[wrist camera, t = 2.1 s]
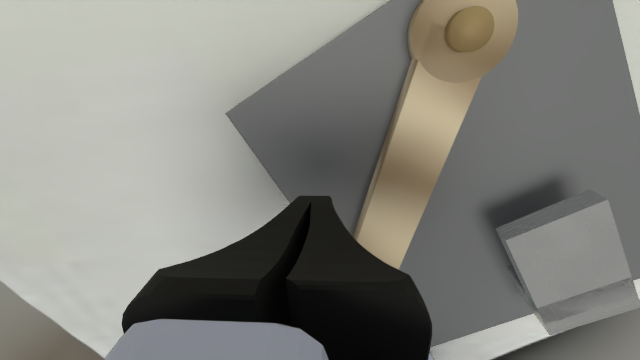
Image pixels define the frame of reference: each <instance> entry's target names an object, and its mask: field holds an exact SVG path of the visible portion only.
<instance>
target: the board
mask: <svg viewBox="0 0 640 360" xmlns="http://www.w3.org/2000/svg"><path fill="white" fill-rule="evenodd" d="M420 2H421V0H391V1H389V2H388V3H386V4H385V5H383V6H382V7H380V8H379V9H377V10H376V11H374V12H373V13H372V14H370V15H369V16H367V17H366V18H364V19H363V20H361V21H360V22H358V23H357V24H355V25H354V26H353V27H351V28H350V29H348V30H347V31H345V32H344V33H342V34H341V35H339V36H338V37H336V38H335V39H334V40H332V41H331V42H329V43H328V44H326V45H325V46H323V47H322V48H320V49H319V50H317V51H316V52H315V53H313V54H312V55H310V56H309V57H307V58H306V59H304V60H303V61H301V62H300V63H298V64H297V65H296V66H294V67H293V68H291V69H290V70H288V71H287V72H285V73H284V74H282V75H281V76H279V77H278V78H277V79H275V80H274V81H272V82H271V83H269V84H268V85H266V86H265V87H263V88H262V89H260V90H259V91H258V92H256V93H255V94H253V95H252V96H250V97H249V98H247V99H246V100H244V101H243V102H242V103H240V104H239V105H237V106H236V107H234V108H233V109H231V110H230V111H228V112H227V113H225V114H226V115H227V116H228V118H229V119H230V121H231V122H232V123H233V125H234V126H235V128H236V129H237V130H238V132H239V133H240V134H241V136H242V137H243V139H244V140H245V141H246V143H247V144H248V145H249V147H250V148H251V150H252V151H253V152H254V154H255V155H256V157H257V158H258V159H259V161H260V162H261V163H262V165H263V166H264V168H265V169H266V170H267V172H268V173H269V174H270V176H271V177H272V179H273V180H274V181H275V183H276V184H277V185H278V187H279V188H280V190H281V191H282V192H283V194H284V195H285V197H286V198H287V199H288V201H289V202H290V203H292V202H293V201H294V200H295V199H296V198H297V197H298V196H330V197H331V198H332V203H333V206H334V209H335V211H336V213H337V215H338V216H339V218H340V220H341V221H342V223H343V224H344V226H345V227H346V229H347V230H348V231H349V233H350V234H351V235H352V236H353V235H354V232H355V229H356V226H357V223H358V220H359V217H360V214H361V211H362V208H363V205H364V202H365V199H366V196H367V193H368V190H369V187H370V183H371V180H372V177H373V174H374V171H375V168H376V165H377V162H378V159H379V156H380V153H381V150H382V147H383V144H384V141H385V138H386V135H387V132H388V129H389V126H390V123H391V120H392V117H393V114H394V111H395V108H396V105H397V102H398V99H399V96H400V93H401V90H402V87H403V84H404V81H405V78H406V75H407V72H408V69H409V66H410V63H411V60H412V58H411V56H410V53H409V50H408V43H407V33H408V27H409V23H410V20H411V17H412V15H413V13H414V11H415V9H416V7H417V6H418V4H419V3H420ZM516 3H517V8H518V25H517V31H516V34H515V38H514V40H513V43H512V45H511V47H510V49H509V50H508V52H507V53H506V55H505V56H504V58H503V59H502V60H501V61H500V62H499V63H498V64H497V65H496V66H495V67H494V68H493V69H492V70H491V71H489V72H488V73H486V74H485V75H483V76H482V77H481V80H480V82H479V84H478V87H477V89H476V91H475V94H474V96H473V98H472V101H471V103H470V105H469V108H468V110H467V112H466V115H465V117H464V119H463V121H462V124H461V126H460V128H459V131H458V133H457V135H456V138H455V140H454V142H453V145H452V147H451V149H450V152H449V154H448V156H447V159H446V161H445V163H444V166H443V168H442V170H441V172H440V175H439V177H438V179H437V182H436V184H435V186H434V189H433V191H432V193H431V196H430V198H429V200H428V203H427V205H426V207H425V210H424V212H423V214H422V217H421V219H420V221H419V223H418V226H417V228H416V230H415V233H414V235H413V237H412V240H411V242H410V244H409V247H408V249H407V251H406V254H405V256H404V258H403V261H402V263H401V265H400V267H399V270H400V271H402V272H404V273H406V274H408V275H410V276H411V278H412V280H413V281H414V283H415V285H416V287H417V289H418V290H419V292H420V294H421V296H422V298H423V300H424V302H425V305H426V307H427V309H428V312H429V315H430V318H431V322H432V339H431V345H430V347H433V346H436V345H439V344H442V343H445V342H448V341H451V340H454V339H457V338H460V337H463V336H466V335H469V334H472V333H475V332H478V331H481V330H484V329H487V328H490V327H493V326H496V325H499V324H502V323H505V322H509V321H512V320H515V319H518V318H521V317H524V316H527V315H530V314H533V312H532V310H531V309H530V307H529V306H528V305H527V303H526V302H525V301H524V299H523V298H522V296H521V295H520V294H519V292H518V290H517V288H516V286H515V284H514V282H513V280H512V278H511V276H510V274H509V271H508V269H507V268H508V267H511V266H513V265H512V263H511V261H510V259H509V257H508V254H507V252H506V250H505V248H504V246H503V244H502V242H501V240H500V237H499V235H498V233H497V231H496V229H495V228H498V227H500V226H502V225H505V224H507V223H510V222H512V221H514V220H517V219H519V218H522V217H524V216H526V215H529V214H531V213H534V212H536V211H538V210H541V209H543V208H546V207H548V206H550V205H553V204H555V203H558V202H560V201H562V200H565V199H567V198H570V197H572V196H574V195H577V194H579V193H582V192H584V191H586V190H589V189H590V190H592V191H594V192H596V193H598V194H599V195H601V196H603V197H605V198H606V199H608V201H609V204H610V207H611V211H612V214H613V217H614V220H615V224H616V227H617V230H618V233H619V237H620V240H621V243H622V247H623V250H624V253H625V256H626V260H627V263H628V266H629V269H630V273H631V276H632V279H633V280H636V279H639V278H640V114H639V110H638V106H637V102H636V98H635V93H634V89H633V85H632V81H631V77H630V72H629V68H628V64H627V60H626V56H625V51H624V47H623V43H622V39H621V35H620V30H619V26H618V22H617V18H616V14H615V9H614V5H613V1H612V0H516Z"/></svg>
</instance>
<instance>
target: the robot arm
mask: <svg viewBox="0 0 640 360" xmlns="http://www.w3.org/2000/svg"><path fill="white" fill-rule="evenodd" d="M122 327H123V332H124V335H123V336H122V337H121V338H120V339H119V340H118V342H117V343H116V344H115V346H114V347H113V348H112V349H111V351H110V352H109V353H108V355H107V356H106V357H105V359H104V360H434V359H433V357H432V355H431V354H430V345H431V339H432V322H431V318H430V315H429V312H428V309H427V307H426V305H425V302H424V300H423V298H422V296H421V294H420V292H419V290H418V289H417V287H416V285H415V283H414V281H413V280H412V278H411V276H410V275H408V274H406V273H404V272H402V271H400V270H398V269H396V268H394V267H392V266H390V265H388V264H386V263H385V262H383V261H382V260H380V259H378V258H377V257H375V256H374V255H373V254H371V253H370V252H369V251H367V250H366V249H365V248H364V247H363V246H361V245H360V244H359V243H358V242H357V241H356V239H355V238H354V237H353V236H352V235H351V234H350V233H349V231H348V230H347V229H346V227H345V226H344V224H343V223H342V221H341V220H340V218H339V216H338V215H337V213H336V211H335V209H334V206H333V203H332V198H331V197H330V196H298V197H297V198H296V199H295V200H294V201H293V202H292V203H291V204H289V205H288V206H287V207H286V208H285V209H284V210H283V211H282V212H281V213H279V214H278V215H277V216H276V217H274V218H273V219H272V220H271V221H269V222H268V223H267V224H265V225H264V226H263V227H261V228H260V229H258V230H257V231H255V232H254V233H252V234H250V235H249V236H247V237H245V238H243V239H242V240H240V241H238V242H235V243H233V244H231V245H229V246H227V247H225V248H223V249H221V250H218V251H216V252H213V253H211V254H208V255H206V256H203V257H200V258H197V259H194V260H191V261H188V262H184V263H181V264H177V265H174V266H170V267H166V268H162V269H159V270H158V271H157V272H156V273H155V274H154V275H153V277H152V278H151V279H150V280H149V281H148V283H147V284H146V285H145V286H144V287H143V288H142V290H141V291H140V292H139V293H138V294H137V296H136V297H135V298H134V299H133V300H132V301H131V303H130V304H129V305H128V307H127V308H126V310H125V312H124V313H123V318H122Z"/></svg>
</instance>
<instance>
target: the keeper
mask: <svg viewBox="0 0 640 360" xmlns="http://www.w3.org/2000/svg"><path fill="white" fill-rule="evenodd" d="M495 229H496V231H497V233H498V235H499V237H500V240H501V242H502V244H503V246H504V248H505V250H506V252H507V254H508V257H509V259H510V261H511V263H512V265H513V266H511V267H508V268H507V269H508V271H509V274H510V276H511V278H512V280H513V282H514V284H515V286H516V288H517V290H518V292H519V294H520V295H521V296H522V298H523V299H524V301H525V302H526V303H527V305H528V306H529V307H530V309H531V310H532V312H533V313H534V314H535V316H536V317H537V318H538V320H539V321H540V323H541V324H542V325H543V327H544V328H545V330H546V331H547V332H548V334H549V335H552V334H555V333H558V332H562V331H565V330H568V329H571V328H574V327H578V326H581V325H584V324H588V323H591V322H594V321H597V320H601V319H604V318H607V317H610V316H614V315H617V314H620V313H624V312H627V311H630V310H633V309H637V308H639V307H640V302H639V299H638V296H637V292H636V289H635V286H634V282H633V279H632V276H631V273H630V269H629V266H628V263H627V260H626V256H625V253H624V250H623V247H622V243H621V240H620V237H619V233H618V230H617V227H616V224H615V220H614V217H613V214H612V211H611V207H610V204H609V201H608V199H606V198H605V197H603V196H601V195H599V194H598V193H596V192H594V191H592V190H590V189H589V190H586V191H584V192H582V193H579V194H577V195H574V196H572V197H570V198H567V199H565V200H562V201H560V202H558V203H555V204H553V205H550V206H548V207H546V208H543V209H541V210H538V211H536V212H534V213H531V214H529V215H526V216H524V217H522V218H519V219H517V220H514V221H512V222H510V223H507V224H505V225H502V226H500V227H498V228H495Z"/></svg>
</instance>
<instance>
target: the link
mask: <svg viewBox="0 0 640 360" xmlns="http://www.w3.org/2000/svg"><path fill="white" fill-rule="evenodd" d="M517 25H518V8H517V3H516V0H421V2H420V3H419V4H418V6H417V7H416V9H415V11H414V13H413V15H412V17H411V20H410V23H409V27H408V33H407V43H408V50H409V53H410V56H411V58H412V60H411V63H410V66H409V69H408V72H407V75H406V78H405V81H404V84H403V87H402V90H401V93H400V96H399V99H398V102H397V105H396V108H395V111H394V114H393V117H392V120H391V123H390V126H389V129H388V132H387V135H386V138H385V141H384V144H383V147H382V150H381V153H380V156H379V159H378V162H377V165H376V168H375V171H374V174H373V177H372V180H371V183H370V187H369V190H368V193H367V196H366V199H365V202H364V205H363V208H362V211H361V214H360V217H359V220H358V223H357V226H356V229H355V232H354V235H353V237H354V238H355V239H356V241H357V242H358V243H359V244H360V245H361V246H363V247H364V248H365V249H366V250H367V251H369V252H370V253H371V254H373V255H374V256H375V257H377V258H378V259H380V260H382V261H383V262H385V263H386V264H388V265H390V266H392V267H394V268H396V269H398V270H399V267H400V265H401V263H402V261H403V258H404V256H405V254H406V251H407V249H408V247H409V244H410V242H411V240H412V237H413V235H414V233H415V230H416V228H417V226H418V223H419V221H420V219H421V217H422V214H423V212H424V210H425V207H426V205H427V203H428V200H429V198H430V196H431V193H432V191H433V189H434V186H435V184H436V182H437V179H438V177H439V175H440V172H441V170H442V168H443V166H444V163H445V161H446V159H447V156H448V154H449V152H450V149H451V147H452V145H453V142H454V140H455V138H456V135H457V133H458V131H459V128H460V126H461V124H462V121H463V119H464V117H465V115H466V112H467V110H468V108H469V105H470V103H471V101H472V98H473V96H474V94H475V91H476V89H477V87H478V84H479V82H480V80H481V77H482V76H483V75H485V74H486V73H488V72H489V71H491V70H492V69H493V68H494V67H495V66H496V65H497V64H498V63H499V62H500V61H501V60H502V59H503V58H504V56H505V55H506V53H507V52H508V50H509V49H510V47H511V45H512V43H513V40H514V38H515V34H516V31H517Z"/></svg>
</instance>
